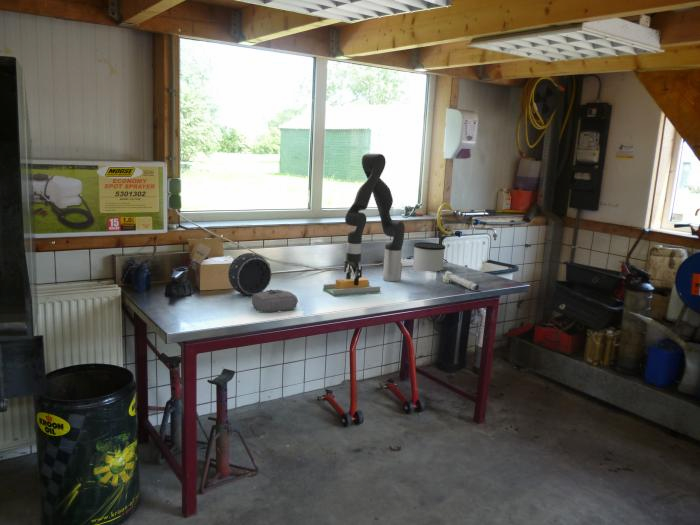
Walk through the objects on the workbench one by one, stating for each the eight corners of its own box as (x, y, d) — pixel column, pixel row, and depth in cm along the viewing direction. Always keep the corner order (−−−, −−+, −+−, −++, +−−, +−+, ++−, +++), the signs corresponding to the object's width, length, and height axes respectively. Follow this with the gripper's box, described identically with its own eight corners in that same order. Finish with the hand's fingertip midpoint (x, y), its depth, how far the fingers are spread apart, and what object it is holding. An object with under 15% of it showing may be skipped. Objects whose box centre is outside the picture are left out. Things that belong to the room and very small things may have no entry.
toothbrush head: (473, 285, 313) (442, 269, 332) (471, 296, 315) (440, 280, 334) (480, 284, 316) (449, 268, 335) (478, 295, 318) (447, 279, 337)
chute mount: (367, 286, 312) (368, 281, 312) (380, 292, 301) (380, 286, 300) (322, 289, 300) (323, 284, 299) (334, 296, 289) (334, 290, 288)
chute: (362, 287, 307) (363, 277, 306) (368, 289, 301) (369, 280, 300) (335, 289, 299) (335, 279, 298) (340, 291, 294) (341, 282, 293)
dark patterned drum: (273, 295, 285) (274, 254, 281) (235, 299, 273) (235, 257, 270) (263, 289, 294) (264, 250, 290) (225, 294, 282) (225, 252, 278)
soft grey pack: (261, 315, 252) (303, 310, 262) (261, 296, 251) (304, 292, 261) (248, 306, 265) (289, 302, 275) (248, 288, 263) (289, 284, 273)
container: (436, 273, 354) (438, 248, 351) (407, 268, 363) (409, 244, 360) (447, 268, 370) (449, 245, 367) (420, 264, 379) (421, 241, 376)
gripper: (367, 254, 292) (365, 286, 295) (353, 249, 304) (352, 279, 308) (354, 254, 289) (352, 287, 292) (340, 249, 301) (339, 280, 304)
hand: (352, 283), depth 300 cm, fingers open, 8 cm apart
